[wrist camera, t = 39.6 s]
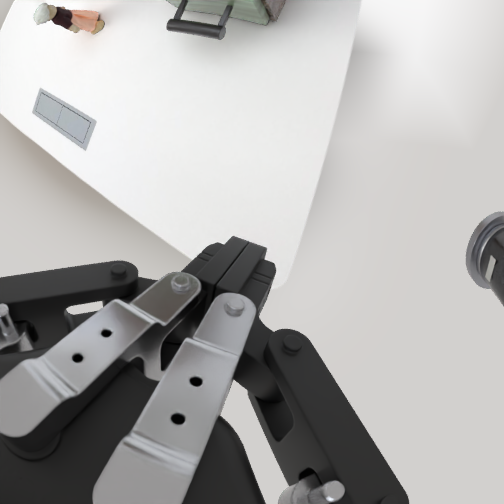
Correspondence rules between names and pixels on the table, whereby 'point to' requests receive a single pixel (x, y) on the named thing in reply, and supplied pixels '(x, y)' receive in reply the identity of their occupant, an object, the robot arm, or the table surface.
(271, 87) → the table surface
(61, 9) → the grandmother figurine
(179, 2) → the drawer
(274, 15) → the cabinet
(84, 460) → the robot arm
